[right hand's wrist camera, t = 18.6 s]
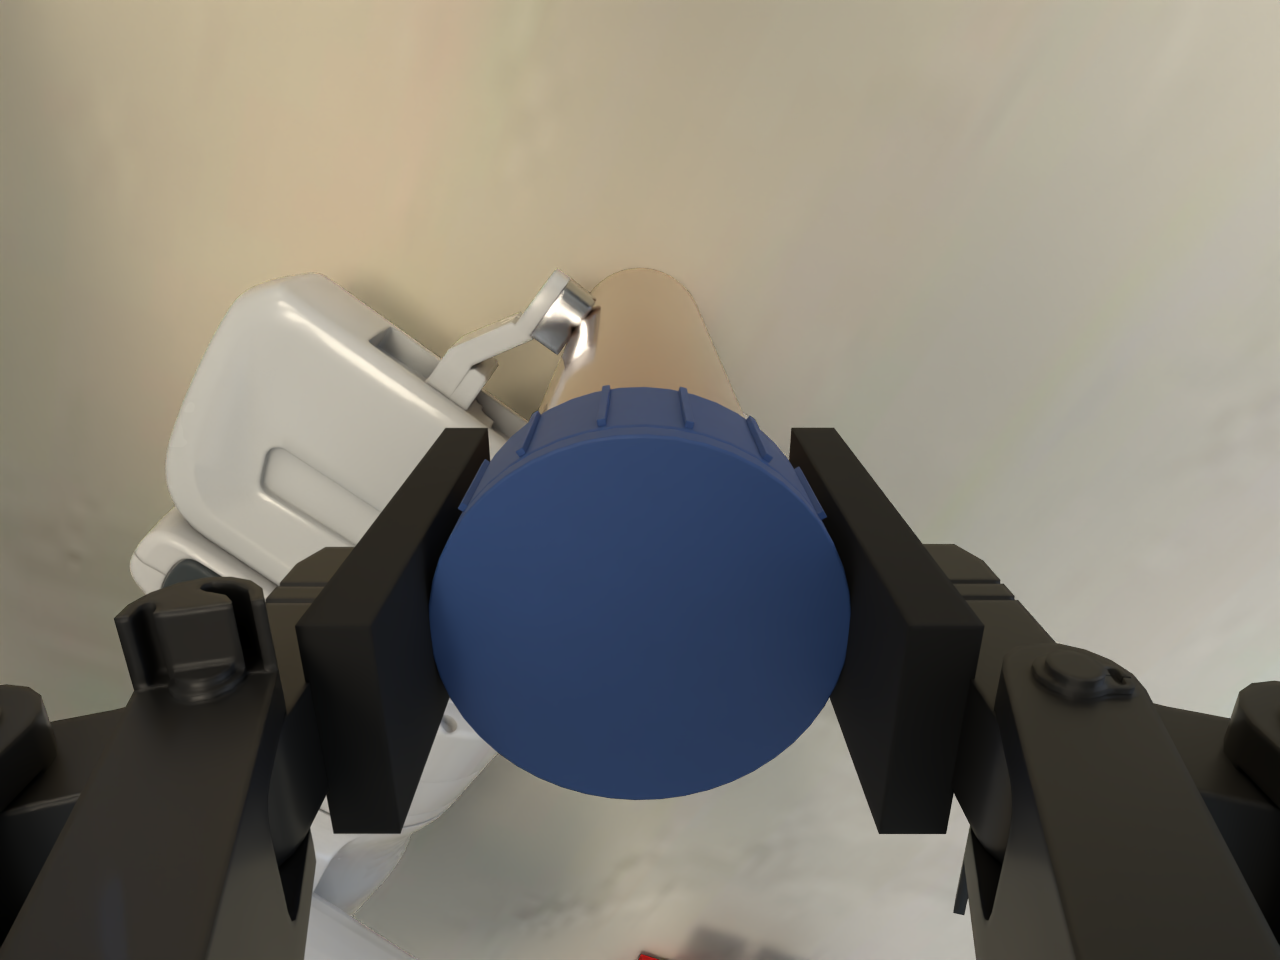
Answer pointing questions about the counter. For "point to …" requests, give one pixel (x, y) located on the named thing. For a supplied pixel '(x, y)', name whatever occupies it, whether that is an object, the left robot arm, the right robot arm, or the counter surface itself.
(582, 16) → the counter surface
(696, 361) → the jar
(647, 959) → the toy
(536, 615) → the lid
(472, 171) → the counter surface
